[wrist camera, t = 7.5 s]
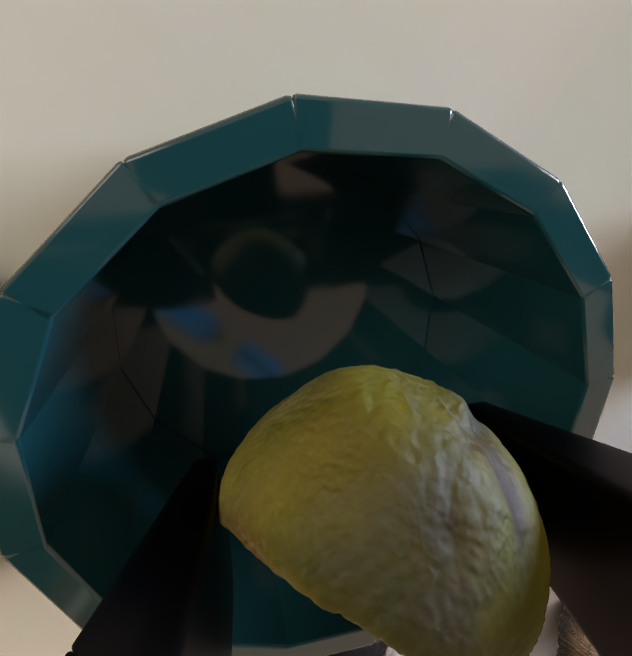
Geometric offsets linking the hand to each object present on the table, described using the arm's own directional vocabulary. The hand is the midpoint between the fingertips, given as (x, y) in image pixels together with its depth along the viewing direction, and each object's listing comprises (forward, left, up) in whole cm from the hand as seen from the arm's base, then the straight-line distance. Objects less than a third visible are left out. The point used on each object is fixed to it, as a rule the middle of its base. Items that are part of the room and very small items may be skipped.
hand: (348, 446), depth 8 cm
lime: (0, 0, -1) cm, 1 cm away
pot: (0, 0, -7) cm, 7 cm away
